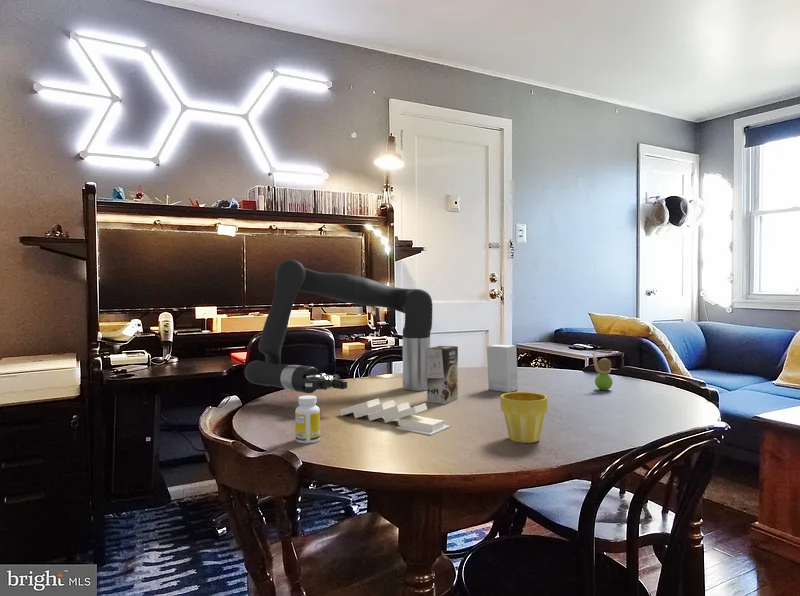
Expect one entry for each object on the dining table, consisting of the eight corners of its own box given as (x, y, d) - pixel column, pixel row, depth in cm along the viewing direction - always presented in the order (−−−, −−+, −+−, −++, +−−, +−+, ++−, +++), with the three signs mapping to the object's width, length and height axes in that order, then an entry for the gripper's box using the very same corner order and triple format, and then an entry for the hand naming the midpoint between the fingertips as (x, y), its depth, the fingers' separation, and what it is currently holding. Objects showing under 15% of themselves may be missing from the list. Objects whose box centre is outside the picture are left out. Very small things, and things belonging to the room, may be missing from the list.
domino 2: (353, 412, 141) (381, 403, 135) (365, 408, 145) (393, 400, 139) (355, 418, 140) (383, 409, 135) (367, 414, 145) (395, 406, 139)
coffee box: (446, 404, 156) (446, 349, 156) (426, 402, 160) (426, 347, 159) (458, 398, 164) (458, 345, 164) (439, 396, 168) (439, 344, 167)
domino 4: (383, 416, 135) (414, 406, 129) (395, 412, 139) (425, 402, 133) (385, 422, 135) (416, 413, 129) (397, 418, 139) (427, 409, 133)
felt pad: (395, 428, 130) (395, 427, 130) (416, 421, 138) (416, 419, 138) (430, 435, 124) (430, 434, 124) (450, 427, 132) (450, 425, 132)
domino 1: (339, 409, 144) (366, 401, 138) (351, 406, 148) (378, 398, 142) (340, 415, 143) (368, 407, 138) (353, 412, 147) (380, 404, 142)
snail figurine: (589, 388, 179) (589, 352, 179) (607, 388, 180) (607, 352, 180) (596, 391, 174) (596, 354, 174) (615, 391, 175) (615, 354, 174)
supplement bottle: (320, 436, 124) (320, 394, 124) (320, 443, 118) (319, 399, 118) (296, 437, 123) (295, 394, 123) (294, 444, 118) (294, 399, 117)
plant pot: (490, 437, 123) (490, 394, 122) (521, 430, 129) (522, 389, 128) (525, 448, 114) (525, 402, 114) (557, 440, 120) (557, 396, 120)
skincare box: (518, 390, 177) (518, 345, 176) (507, 393, 172) (507, 346, 172) (497, 387, 183) (497, 343, 182) (486, 389, 179) (486, 344, 178)
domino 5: (398, 418, 132) (432, 424, 126) (409, 414, 136) (443, 420, 130) (398, 425, 132) (432, 431, 126) (409, 421, 136) (443, 427, 131)
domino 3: (367, 414, 138) (396, 405, 132) (379, 411, 142) (408, 401, 136) (369, 421, 138) (398, 411, 132) (381, 417, 142) (410, 407, 136)
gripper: (282, 368, 150) (328, 374, 140) (316, 362, 161) (361, 368, 151) (282, 395, 150) (328, 403, 140) (316, 387, 161) (361, 394, 151)
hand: (345, 385), depth 145 cm, fingers closed
